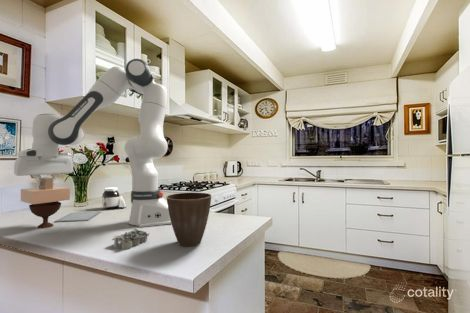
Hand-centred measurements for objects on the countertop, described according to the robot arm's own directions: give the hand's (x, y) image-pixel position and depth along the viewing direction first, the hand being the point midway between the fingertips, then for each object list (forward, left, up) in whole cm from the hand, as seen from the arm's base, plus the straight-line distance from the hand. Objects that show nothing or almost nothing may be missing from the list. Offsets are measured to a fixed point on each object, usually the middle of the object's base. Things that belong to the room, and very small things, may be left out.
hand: (45, 185), depth 107 cm
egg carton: (-40, +29, -18) cm, 53 cm away
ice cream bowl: (0, 0, -18) cm, 18 cm away
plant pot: (-59, +33, -18) cm, 70 cm away
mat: (-7, -16, -17) cm, 25 cm away
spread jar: (-18, -36, -18) cm, 44 cm away
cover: (0, 0, -6) cm, 6 cm away
